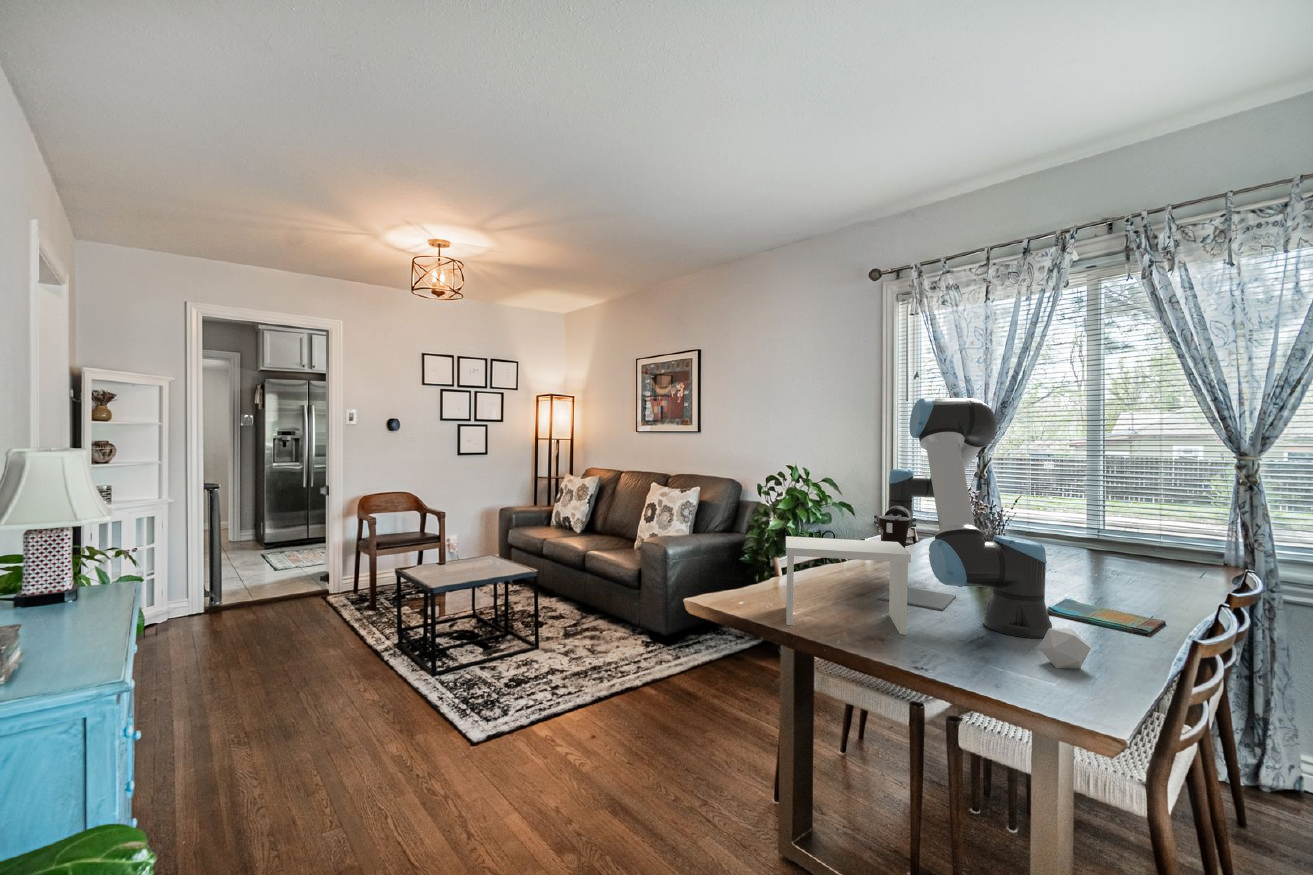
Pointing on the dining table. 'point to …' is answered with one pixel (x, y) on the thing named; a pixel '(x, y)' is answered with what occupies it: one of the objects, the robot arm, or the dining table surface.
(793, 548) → the shelf stand
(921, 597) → the placemat
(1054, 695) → the dining table surface
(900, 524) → the coffee mug
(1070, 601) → the dish towel
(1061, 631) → the die
